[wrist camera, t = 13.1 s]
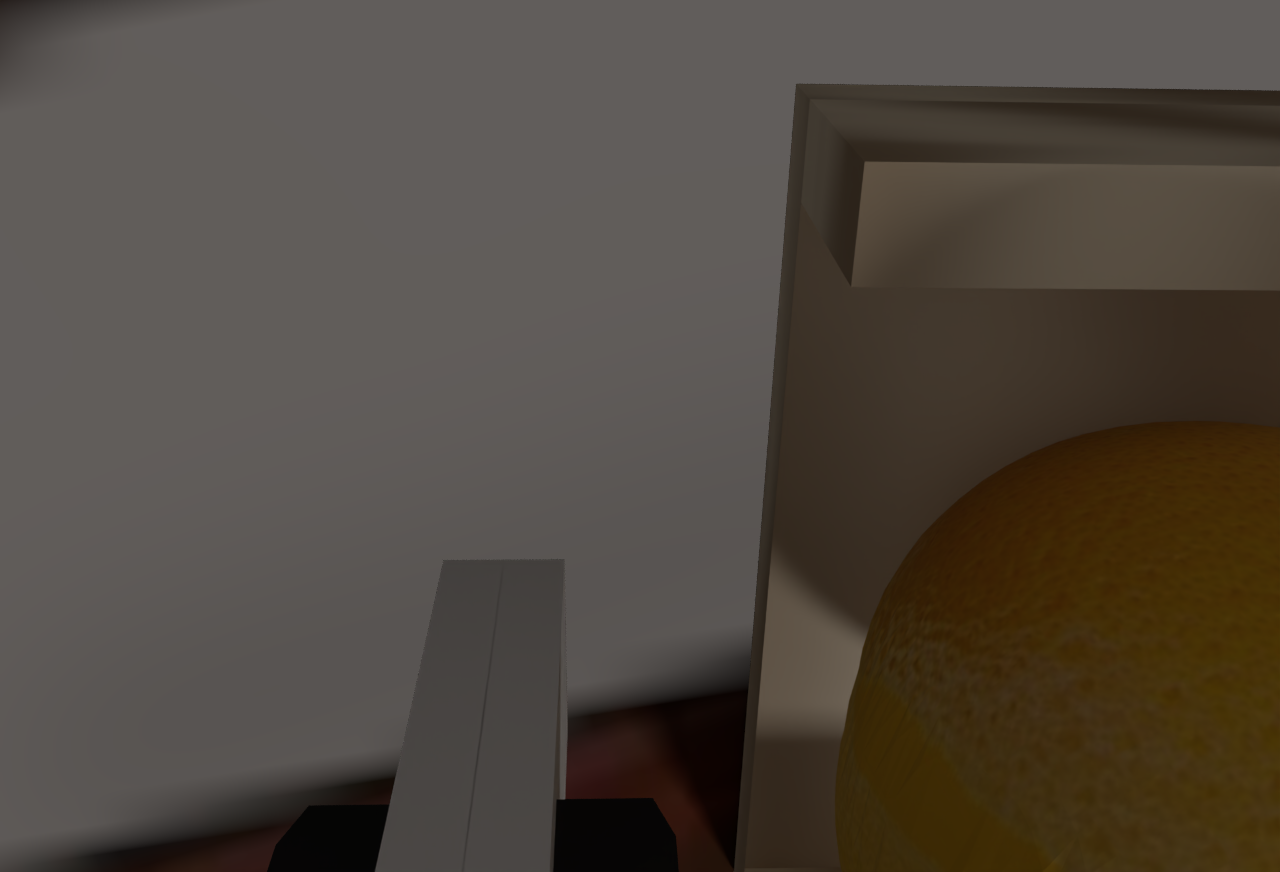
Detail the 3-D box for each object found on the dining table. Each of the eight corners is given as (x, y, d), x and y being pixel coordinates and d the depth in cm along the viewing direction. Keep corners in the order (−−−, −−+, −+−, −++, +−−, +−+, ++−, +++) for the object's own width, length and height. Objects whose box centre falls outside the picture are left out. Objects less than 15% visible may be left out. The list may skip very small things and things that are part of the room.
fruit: (1486, 302, 14) (2354, 737, 7) (1336, 781, 18) (1818, 1382, 11) (791, 338, 14) (984, 813, 7) (782, 813, 18) (903, 1440, 11)
